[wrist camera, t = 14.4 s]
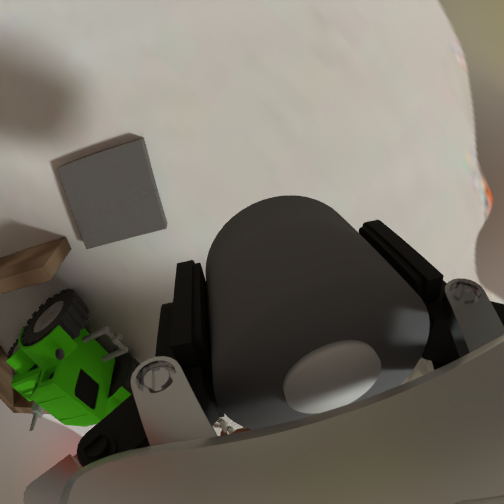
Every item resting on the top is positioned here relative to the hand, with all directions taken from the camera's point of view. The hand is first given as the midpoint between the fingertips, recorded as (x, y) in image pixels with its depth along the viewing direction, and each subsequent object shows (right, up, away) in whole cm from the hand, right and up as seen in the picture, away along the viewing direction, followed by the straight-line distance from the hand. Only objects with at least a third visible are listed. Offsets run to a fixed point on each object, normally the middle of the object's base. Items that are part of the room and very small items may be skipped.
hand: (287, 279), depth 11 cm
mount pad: (-12, +5, +11) cm, 17 cm away
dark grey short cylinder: (0, 0, +1) cm, 1 cm away
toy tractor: (-20, -8, +18) cm, 28 cm away
